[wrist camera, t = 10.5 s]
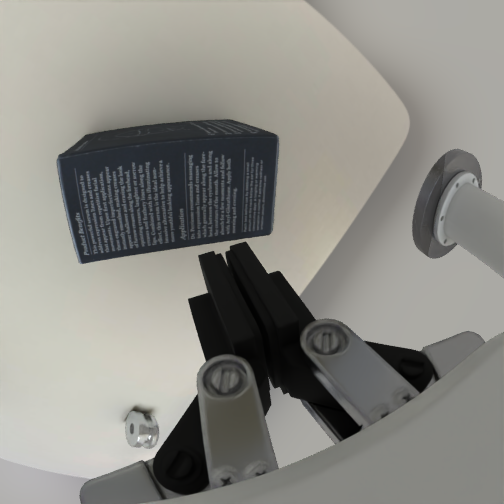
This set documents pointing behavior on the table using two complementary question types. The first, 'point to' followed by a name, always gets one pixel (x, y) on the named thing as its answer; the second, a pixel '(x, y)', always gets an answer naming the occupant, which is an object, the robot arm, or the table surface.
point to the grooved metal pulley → (141, 430)
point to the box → (168, 187)
